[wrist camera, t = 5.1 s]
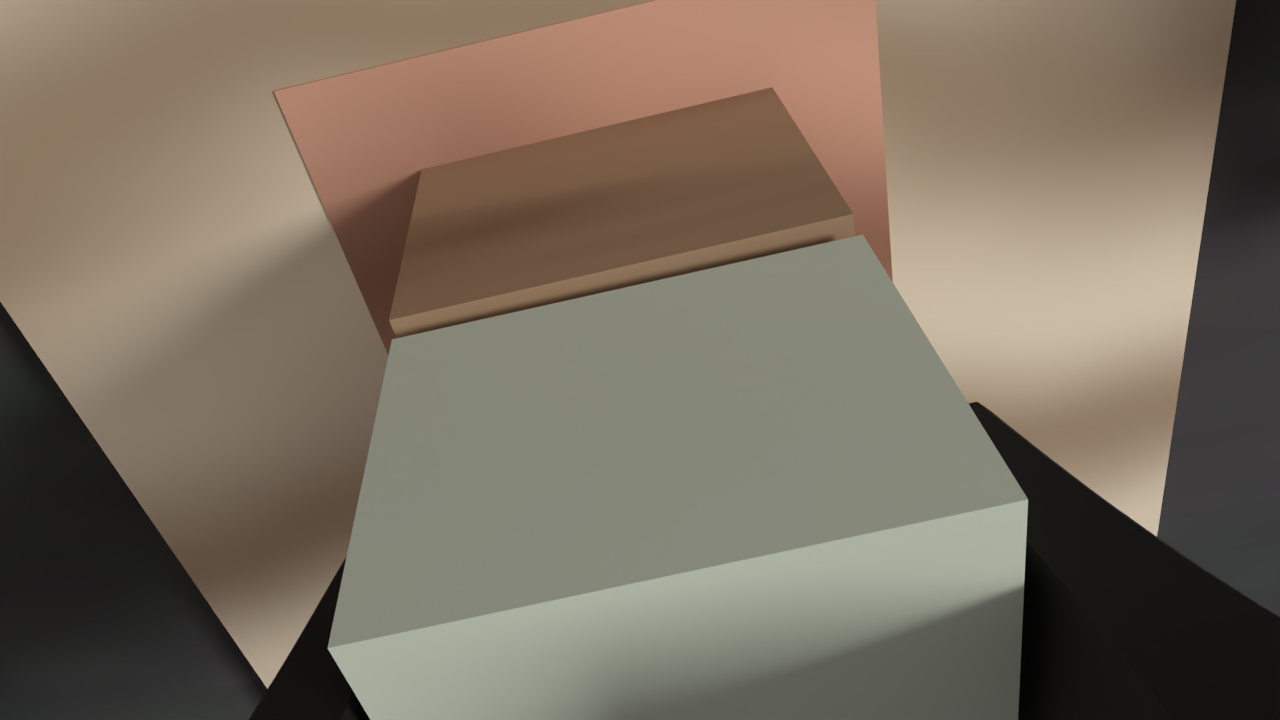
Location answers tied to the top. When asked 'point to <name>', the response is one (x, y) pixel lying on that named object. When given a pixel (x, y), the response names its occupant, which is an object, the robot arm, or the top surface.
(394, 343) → the sage block
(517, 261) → the walnut block
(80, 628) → the top surface
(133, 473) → the build board
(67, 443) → the top surface
